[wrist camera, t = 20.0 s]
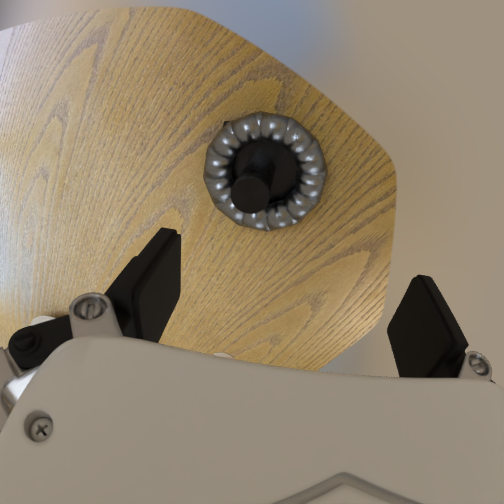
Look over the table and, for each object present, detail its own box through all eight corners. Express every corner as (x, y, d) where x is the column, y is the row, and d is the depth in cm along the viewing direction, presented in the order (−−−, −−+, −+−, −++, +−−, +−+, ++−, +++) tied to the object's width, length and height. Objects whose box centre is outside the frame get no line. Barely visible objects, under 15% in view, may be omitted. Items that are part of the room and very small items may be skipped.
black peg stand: (226, 120, 29) (198, 129, 20) (310, 135, 29) (321, 150, 20) (216, 198, 34) (189, 237, 25) (294, 212, 33) (295, 257, 24)
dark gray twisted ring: (217, 103, 27) (210, 104, 25) (336, 127, 27) (341, 130, 25) (202, 211, 33) (195, 221, 31) (308, 234, 33) (309, 245, 31)
